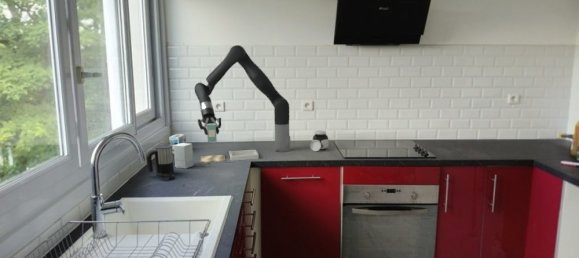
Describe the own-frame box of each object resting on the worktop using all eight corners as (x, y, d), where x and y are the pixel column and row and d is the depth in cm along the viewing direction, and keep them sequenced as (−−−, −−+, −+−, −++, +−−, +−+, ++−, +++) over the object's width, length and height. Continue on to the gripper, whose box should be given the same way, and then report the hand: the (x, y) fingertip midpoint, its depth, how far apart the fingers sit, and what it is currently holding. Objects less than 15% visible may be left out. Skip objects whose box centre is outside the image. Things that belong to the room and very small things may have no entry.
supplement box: (194, 165, 235) (192, 143, 233) (185, 168, 228) (184, 146, 226) (183, 164, 238) (182, 142, 236) (174, 167, 231) (173, 145, 229)
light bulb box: (179, 154, 264) (178, 137, 262) (169, 153, 265) (168, 136, 263) (187, 150, 274) (186, 134, 272) (177, 150, 276) (176, 133, 274)
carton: (216, 140, 248) (215, 123, 246) (216, 141, 243) (215, 124, 241) (207, 140, 247) (206, 123, 245) (207, 142, 242) (206, 125, 240)
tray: (255, 154, 259) (255, 149, 258) (258, 159, 245) (258, 154, 245) (229, 156, 256) (229, 151, 255) (231, 161, 242) (230, 156, 242)
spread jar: (327, 147, 274) (327, 130, 272) (329, 151, 263) (329, 133, 261) (309, 148, 274) (309, 130, 272) (310, 152, 262) (310, 133, 260)
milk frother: (166, 170, 226) (164, 143, 223) (187, 174, 217) (185, 146, 215) (144, 177, 214) (142, 148, 211) (166, 181, 205) (164, 152, 203)
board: (224, 156, 255) (224, 154, 255) (225, 161, 242) (225, 160, 241) (200, 157, 252) (200, 156, 252) (200, 163, 239) (200, 161, 239)
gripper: (195, 107, 246) (200, 131, 237) (220, 106, 251) (225, 129, 242) (194, 115, 252) (199, 138, 243) (218, 114, 257) (223, 136, 248)
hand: (212, 133), depth 243 cm, fingers closed on carton, 5 cm apart
